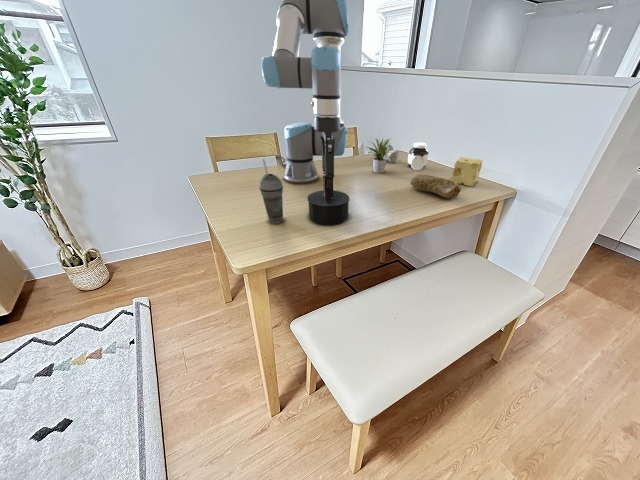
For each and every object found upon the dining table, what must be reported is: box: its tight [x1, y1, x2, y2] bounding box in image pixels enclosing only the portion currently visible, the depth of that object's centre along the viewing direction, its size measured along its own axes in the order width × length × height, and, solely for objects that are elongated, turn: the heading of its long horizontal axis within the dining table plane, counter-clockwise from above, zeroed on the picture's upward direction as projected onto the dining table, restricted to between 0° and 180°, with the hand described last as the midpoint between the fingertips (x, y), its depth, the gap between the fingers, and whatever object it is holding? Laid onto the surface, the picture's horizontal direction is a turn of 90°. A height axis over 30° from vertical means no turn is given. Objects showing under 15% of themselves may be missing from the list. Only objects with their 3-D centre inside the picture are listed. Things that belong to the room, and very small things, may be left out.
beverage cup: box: [259, 158, 284, 225], centre depth 87 cm, size 7×7×20 cm
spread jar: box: [407, 142, 429, 171], centre depth 145 cm, size 12×11×12 cm
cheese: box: [450, 156, 484, 187], centre depth 129 cm, size 10×11×10 cm
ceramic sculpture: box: [373, 144, 400, 164], centre depth 156 cm, size 11×9×15 cm
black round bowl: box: [308, 201, 350, 226], centre depth 95 cm, size 13×13×6 cm
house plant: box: [365, 137, 392, 174], centre depth 138 cm, size 14×14×16 cm
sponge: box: [410, 174, 462, 199], centre depth 117 cm, size 13×8×20 cm
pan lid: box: [306, 172, 350, 208], centre depth 91 cm, size 14×14×9 cm
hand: (328, 194), depth 92 cm, fingers open, 4 cm apart
